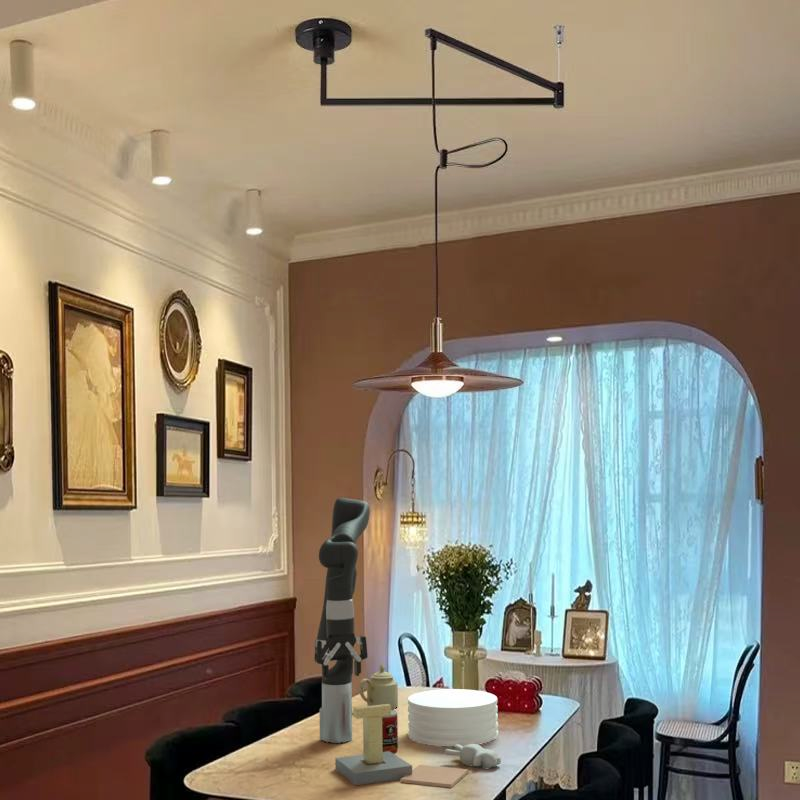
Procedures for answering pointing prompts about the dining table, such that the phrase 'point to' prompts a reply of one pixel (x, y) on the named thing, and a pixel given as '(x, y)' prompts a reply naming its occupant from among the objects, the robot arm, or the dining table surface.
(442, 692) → the plate stack
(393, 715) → the canned food
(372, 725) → the t key
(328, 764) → the dining table surface
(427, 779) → the tile
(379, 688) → the sugar bowl
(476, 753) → the bunny figurine
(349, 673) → the robot arm
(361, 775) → the cover plate
